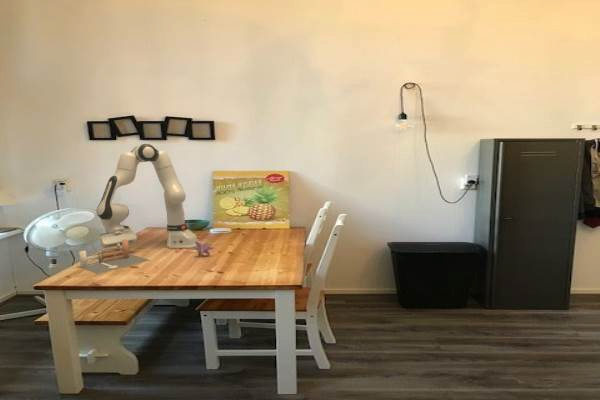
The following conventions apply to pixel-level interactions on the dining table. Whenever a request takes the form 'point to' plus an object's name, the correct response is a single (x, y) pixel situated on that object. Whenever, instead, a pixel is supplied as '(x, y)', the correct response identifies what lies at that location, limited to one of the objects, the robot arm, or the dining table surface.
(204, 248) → the lily
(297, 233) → the dining table surface
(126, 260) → the board
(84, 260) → the fixed fence section
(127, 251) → the hinged fence section
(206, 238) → the dining table surface
